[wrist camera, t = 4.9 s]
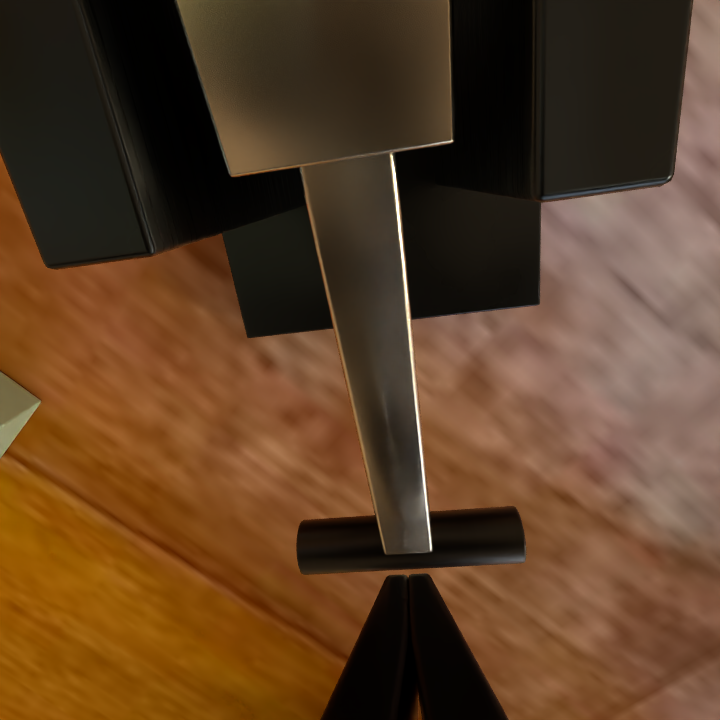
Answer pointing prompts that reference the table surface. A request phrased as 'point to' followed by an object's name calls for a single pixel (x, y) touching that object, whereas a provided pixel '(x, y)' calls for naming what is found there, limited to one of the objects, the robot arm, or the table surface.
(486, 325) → the table surface
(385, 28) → the lever
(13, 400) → the button box
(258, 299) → the bracket
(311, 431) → the table surface
